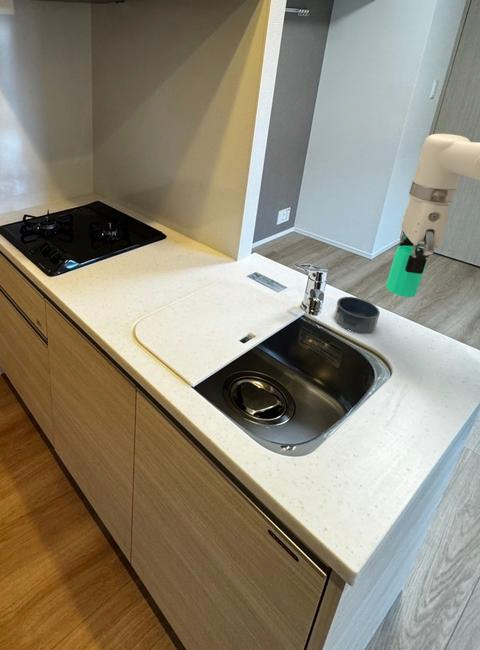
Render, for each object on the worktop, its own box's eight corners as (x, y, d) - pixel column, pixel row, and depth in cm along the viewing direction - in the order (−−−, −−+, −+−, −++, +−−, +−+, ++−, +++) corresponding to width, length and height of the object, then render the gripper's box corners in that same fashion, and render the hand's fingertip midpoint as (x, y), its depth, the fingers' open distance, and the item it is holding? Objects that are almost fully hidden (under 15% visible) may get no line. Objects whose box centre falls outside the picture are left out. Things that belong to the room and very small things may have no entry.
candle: (406, 299, 94) (421, 253, 90) (380, 286, 100) (392, 242, 95) (422, 293, 97) (437, 247, 92) (395, 280, 102) (408, 237, 97)
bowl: (370, 315, 116) (374, 300, 114) (379, 337, 108) (383, 321, 106) (331, 308, 120) (335, 294, 118) (337, 329, 111) (340, 313, 109)
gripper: (471, 208, 80) (442, 287, 87) (437, 181, 95) (415, 251, 102) (425, 204, 83) (401, 281, 89) (399, 178, 98) (380, 246, 104)
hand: (408, 264), depth 96 cm, fingers closed on candle, 5 cm apart
